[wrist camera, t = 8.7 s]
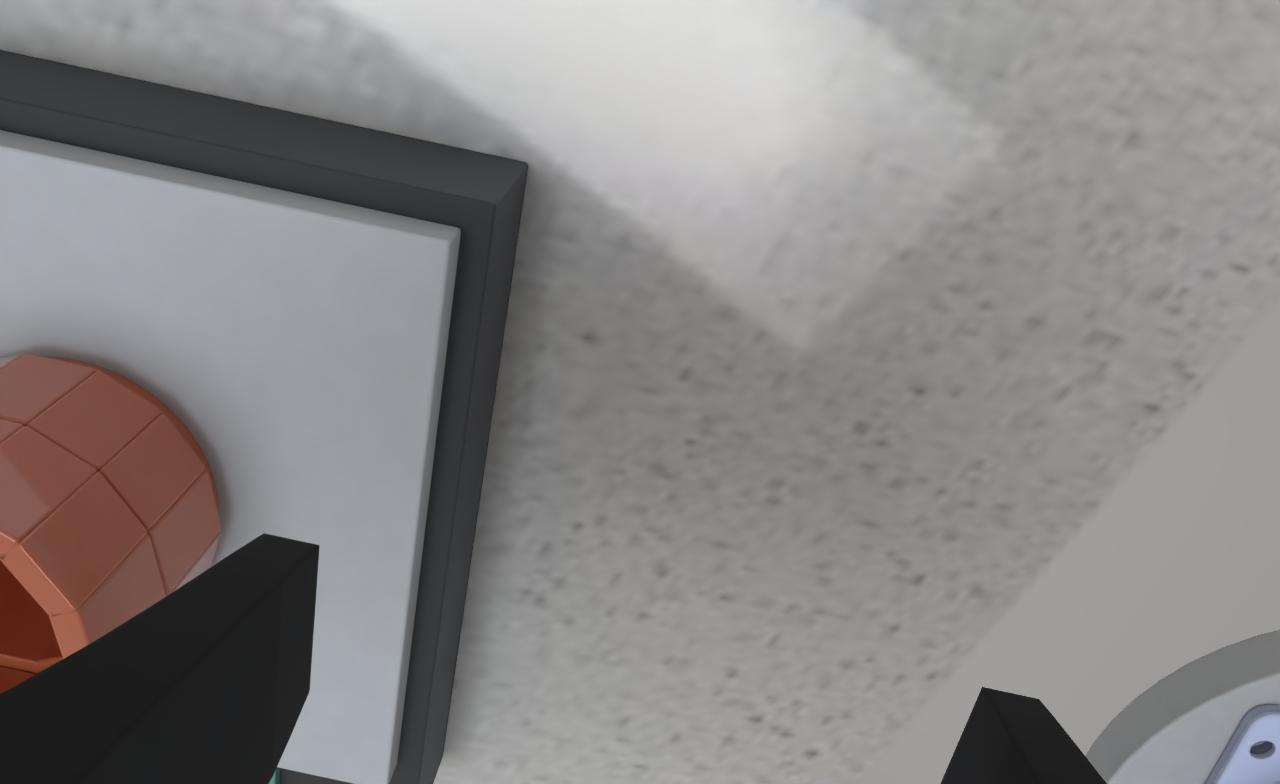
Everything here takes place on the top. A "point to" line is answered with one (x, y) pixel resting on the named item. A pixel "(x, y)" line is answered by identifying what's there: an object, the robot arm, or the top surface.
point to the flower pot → (91, 508)
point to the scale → (285, 353)
